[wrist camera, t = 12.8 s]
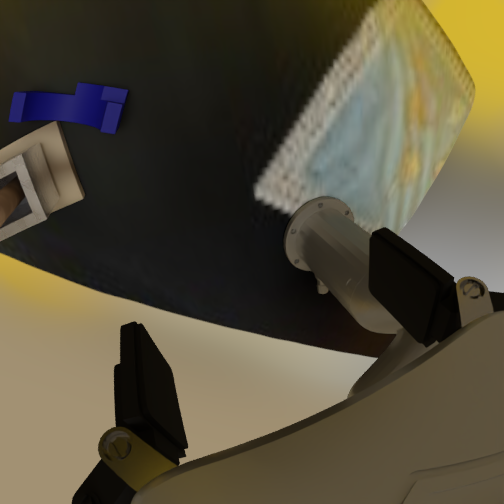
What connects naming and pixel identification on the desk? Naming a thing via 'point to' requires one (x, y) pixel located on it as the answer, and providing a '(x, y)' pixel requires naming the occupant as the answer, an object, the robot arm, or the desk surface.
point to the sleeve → (29, 190)
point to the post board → (58, 165)
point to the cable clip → (73, 106)
